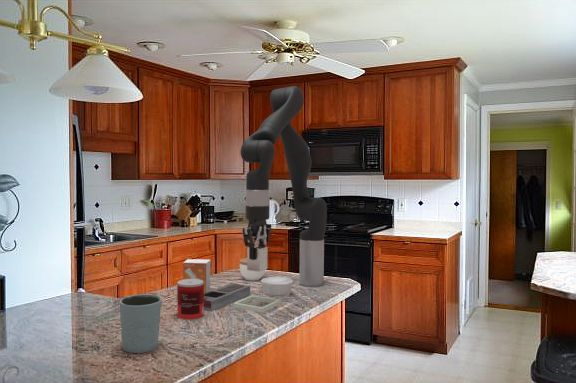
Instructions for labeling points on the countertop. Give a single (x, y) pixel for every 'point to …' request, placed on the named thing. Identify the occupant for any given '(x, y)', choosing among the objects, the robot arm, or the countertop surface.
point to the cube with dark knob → (258, 260)
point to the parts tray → (242, 305)
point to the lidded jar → (249, 271)
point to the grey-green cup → (140, 322)
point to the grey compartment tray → (224, 296)
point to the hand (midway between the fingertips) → (257, 257)
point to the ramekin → (277, 285)
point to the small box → (197, 271)
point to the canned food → (190, 298)
